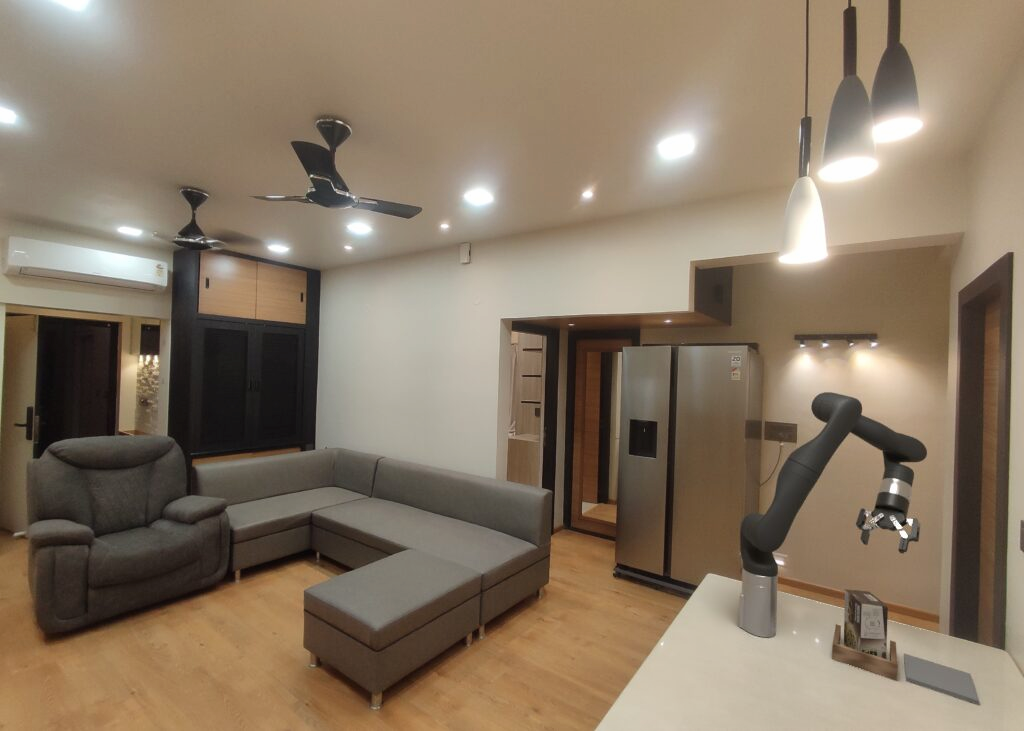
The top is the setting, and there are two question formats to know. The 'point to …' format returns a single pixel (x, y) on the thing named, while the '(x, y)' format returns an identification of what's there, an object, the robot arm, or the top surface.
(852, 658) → the walnut holder
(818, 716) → the top surface
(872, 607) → the coffee box
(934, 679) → the charcoal mat
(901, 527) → the robot arm
